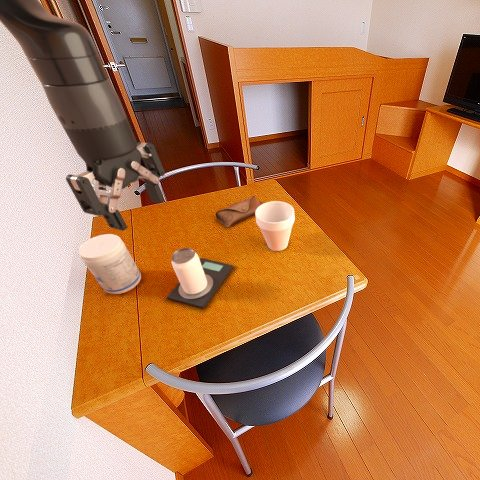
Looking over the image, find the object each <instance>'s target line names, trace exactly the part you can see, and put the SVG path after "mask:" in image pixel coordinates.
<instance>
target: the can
mask: <svg viewBox="0 0 480 480" xmlns="http://www.w3.org/2000/svg"><path fill="white" fill-rule="evenodd" d="M170 260H171V266H172V268H173V271H174V273H175V275H176V278H177V280H178V283H179V282H180V284H181V286H182V288H183V290H184V292H185V293H187V294H197V293H200V292H201V291H203V290H204V289H205V288H206V286H207V279H206V276H205V273H204V271H203V268H202V265H201V262H200V256H199V255H198V253H197V252H195V250H194V249H193V248H191V247H184V248H179V249H177V250H175V251H174V252H173V253H172V255H171V259H170Z"/></svg>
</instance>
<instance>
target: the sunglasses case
mask: <svg viewBox="0 0 480 480" xmlns="http://www.w3.org/2000/svg"><path fill="white" fill-rule="evenodd" d="M260 205H262V203H261V202H260V201H259V200H258V198H256V195H253V196H251V197H248V198H246V199H243V200H241V201H238V202H236V203H234V204H231V205H229V206H227V207H224V208H222V209H219V210H218V211H216V212H215V218H216V220H217V221H218V222H219V223H220V224H222V225H223V226H224V227H226V228H230V227H232V226H235V224H238V223H240V222H242V221H244V220H246V219H248V218H251V217H253V216H255V211H256V209H257V208H258V207H259V206H260Z"/></svg>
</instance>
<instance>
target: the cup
mask: <svg viewBox="0 0 480 480" xmlns="http://www.w3.org/2000/svg"><path fill="white" fill-rule="evenodd" d="M254 216H255V223H256V225H257V226H258V227H259V229H260V232H261V234H262V236H263V238H264V240H265V243H266V245H267V248H269V250H271V251H274V252H280V251H283V250H285V249H286V248H287V247H288V245H289V241H290V237H291V233H292V229H293V226H294V223H295V219H296V217H295V209H294V206H292V205H291V204H290V203H288V202H285V201H281V200H272V201H267V202H264V203H261V205H260V206H259V207H258V208H257V209H256V211H255V215H254Z"/></svg>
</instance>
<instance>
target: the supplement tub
mask: <svg viewBox="0 0 480 480" xmlns="http://www.w3.org/2000/svg"><path fill="white" fill-rule="evenodd" d="M77 252H78V255H79V257H80V259H81V261H82V262H83V264H84V265H85V266H86V267H87V270H89V271H90V273H91V274H92V276H93V277H94V278H95V280H96V281H97V283H98V284H99V286H100V287H101V288H102V289H103V291H104V292H106V293H108V294H110V295H120V294H124V293H126V292H129V291H131V290H133V289H134V288H136V286H137V285H138V284H139V283H140V281H141V279H142V274H141V271H140V269H139V268H138V266H137V264H136V263H135V261H134V259H133V257H132V255H131V253H130V252H129V249H128V248H127V246H126V244H125V242H124V241H123V240H122V238H121V237H120V236H118V235H116V234H113V233H105V234H99V235H96V236H93V237H91V238H89V239H87V240H85V242H83V243H82V244H81V245H79V248H78V251H77Z"/></svg>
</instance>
